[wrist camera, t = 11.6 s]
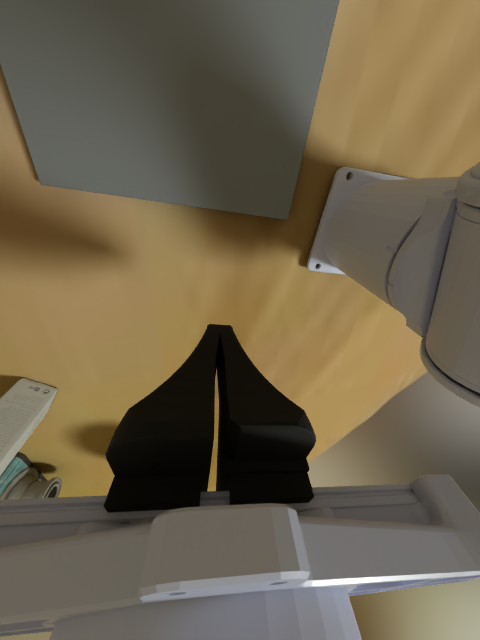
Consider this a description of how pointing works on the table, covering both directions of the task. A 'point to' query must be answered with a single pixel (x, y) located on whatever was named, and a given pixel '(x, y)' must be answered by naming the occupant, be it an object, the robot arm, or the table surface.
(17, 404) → the skincare box
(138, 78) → the plate
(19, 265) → the table surface
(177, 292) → the table surface
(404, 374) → the table surface
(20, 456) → the camera
